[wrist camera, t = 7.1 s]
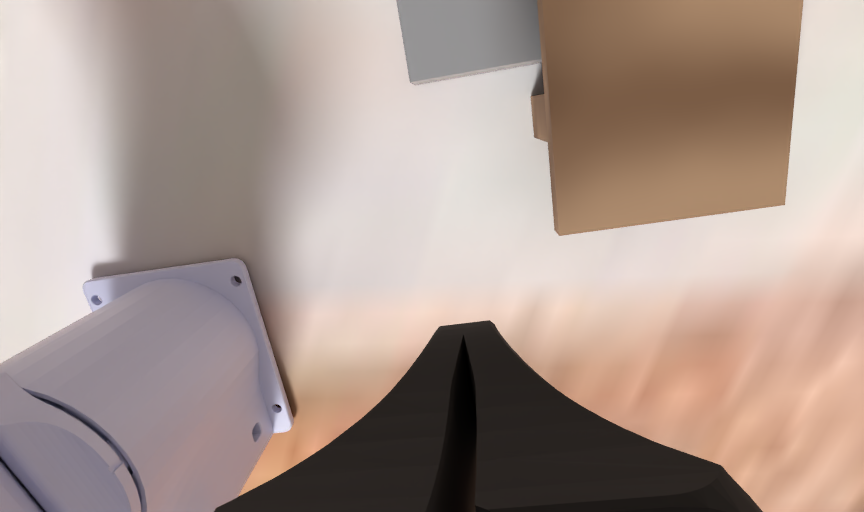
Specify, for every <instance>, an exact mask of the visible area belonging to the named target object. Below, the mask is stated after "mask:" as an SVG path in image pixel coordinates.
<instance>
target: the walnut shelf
mask: <svg viewBox="0 0 864 512" xmlns="http://www.w3.org/2000/svg"><path fill="white" fill-rule="evenodd" d="M537 6H538V19H539V32H540V45H541V58H542V71H543V85H544V94H542V95H536V96H531V105H532V116H533V128H534V137H535V138H537V139H540V140H543V141H546V142H548V150H549V163H550V176H551V189H552V202H553V216H554V229H555V231H556V232H557V233H558V235H559V236H562V235H569V234H576V233H583V232H591V231H598V230H605V229H613V228H620V227H627V226H635V225H642V224H649V223H656V222H664V221H671V220H678V219H686V218H693V217H700V216H707V215H715V214H722V213H729V212H737V211H744V210H751V209H759V208H766V207H773V206H780V205H785V197H786V186H787V175H788V164H789V153H790V141H791V130H792V119H793V108H794V97H795V86H796V75H797V64H798V53H799V41H800V30H801V19H802V8H803V0H537Z"/></svg>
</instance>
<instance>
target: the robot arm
mask: <svg viewBox="0 0 864 512" xmlns="http://www.w3.org/2000/svg"><path fill="white" fill-rule="evenodd" d="M234 276H238V277H239V278H240V279H241V283H238V282H236V281H235V279H234ZM83 292H84V294H85V296H86V298H87V301H88V303H89V305H90V308H91V310H92V313H90V314H88V315H86V316H85V317H83V318H81V319H79V320H78V321H76V322H74V323H72V324H70V325H69V326H67V327H65V328H63V329H61V330H60V331H58V332H56V333H54V334H53V335H51V336H49V337H47V338H45V339H44V340H42V341H40V342H38V343H36V344H35V345H33V346H31V347H29V348H27V349H26V350H24V351H22V352H20V353H19V354H17V355H15V356H13V357H11V358H10V359H8V360H6V361H4V362H2V363H1V364H0V512H763V511H762V510H761V509H760V508H759V507H758V506H757V504H756V503H755V502H754V501H753V500H752V499H751V497H750V496H749V495H748V494H747V493H746V492H745V491H744V490H743V489H742V488H741V487H740V486H739V485H738V484H737V483H736V482H735V481H734V480H733V479H732V477H731V476H730V475H729V474H728V473H727V472H726V471H725V469H724V468H723V467H722V466H721V465H718V464H716V463H713V462H710V461H707V460H704V459H701V458H698V457H696V456H693V455H690V454H687V453H684V452H681V451H678V450H676V449H673V448H670V447H667V446H664V445H661V444H659V443H656V442H654V441H651V440H649V439H647V438H644V437H642V436H640V435H638V434H635V433H633V432H631V431H628V430H626V429H624V428H622V427H620V426H618V425H616V424H614V423H612V422H610V421H608V420H606V419H604V418H602V417H600V416H598V415H597V414H595V413H593V412H591V411H589V410H588V409H586V408H584V407H582V406H581V405H579V404H577V403H576V402H574V401H573V400H571V399H569V398H568V397H566V396H565V395H564V394H562V393H561V392H559V391H558V390H557V389H555V388H554V387H553V386H551V385H550V384H549V383H548V382H546V381H545V380H544V379H543V378H542V377H541V376H539V375H538V374H537V373H536V372H535V371H534V370H533V369H532V368H531V367H529V366H528V365H527V364H526V363H525V362H524V361H523V360H522V359H521V357H520V356H519V355H518V354H517V353H516V352H515V351H514V350H513V349H512V348H511V347H510V346H509V344H508V343H507V342H506V341H505V339H504V338H503V337H502V336H501V334H500V333H499V331H498V330H497V328H496V327H495V324H493V323H492V322H491V321H490V320H489V321H480V322H472V323H464V324H455V325H447V326H440V327H439V328H438V329H437V330H436V332H435V333H434V335H433V336H432V338H431V339H430V341H429V342H428V344H427V345H426V347H425V348H424V350H423V351H422V353H421V354H420V355H419V357H418V358H417V359H416V361H415V362H414V363H413V365H412V366H411V367H410V369H409V370H408V371H407V373H406V374H405V375H404V376H403V377H402V379H401V380H400V381H399V382H398V383H397V384H396V386H395V387H394V388H393V389H392V390H391V391H390V392H389V393H388V394H387V395H386V396H385V397H384V398H383V399H382V400H381V401H380V402H379V403H378V404H377V405H376V406H375V407H374V408H373V409H372V410H371V411H370V412H368V413H367V414H366V415H365V416H364V417H363V418H362V419H360V420H359V421H358V422H357V423H355V424H354V425H353V426H351V427H350V428H349V429H348V430H346V431H345V432H344V433H342V434H341V435H340V436H338V437H337V438H336V439H335V440H333V441H332V442H331V443H329V444H328V445H326V446H325V447H324V448H322V449H321V450H319V451H318V452H316V453H315V454H313V455H312V456H310V457H309V458H307V459H305V460H304V461H302V462H300V463H299V464H297V465H296V466H294V467H292V468H291V469H289V470H287V471H286V472H284V473H282V474H280V475H279V476H277V477H275V478H274V479H272V480H270V481H268V482H266V483H264V484H262V485H260V486H258V487H256V488H254V489H252V490H251V491H249V492H247V493H245V494H243V495H241V496H239V497H238V495H239V494H240V492H241V490H242V488H243V486H244V485H245V483H246V481H247V479H248V478H249V476H250V474H251V472H252V470H253V469H254V467H255V465H256V463H257V462H258V460H259V458H260V456H261V454H262V453H263V451H264V449H265V447H266V446H267V444H268V442H269V440H270V438H271V437H272V435H273V433H280V432H287V431H289V430H290V429H291V427H292V425H293V423H294V419H293V416H292V413H291V409H290V406H289V403H288V400H287V396H286V393H285V390H284V387H283V384H282V380H281V377H280V374H279V371H278V367H277V364H276V361H275V358H274V354H273V351H272V348H271V345H270V342H269V338H268V335H267V332H266V329H265V325H264V322H263V319H262V316H261V312H260V309H259V306H258V303H257V300H256V296H255V293H254V290H253V287H252V283H251V280H250V277H249V274H248V270H247V267H246V265H245V263H244V262H243V261H241V260H239V259H237V258H232V259H225V260H218V261H211V262H204V263H197V264H189V265H182V266H175V267H168V268H161V269H154V270H147V271H140V272H133V273H126V274H119V275H112V276H105V277H98V278H93V279H90V280H88V281H86V282H85V283H84V284H83ZM98 296H99V297H100V298H101V299H102V301H100V300H99V299H98ZM275 404H278V405H280V406H281V408H278V407H277V406H276V405H275Z"/></svg>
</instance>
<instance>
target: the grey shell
mask: <svg viewBox="0 0 864 512" xmlns="http://www.w3.org/2000/svg"><path fill="white" fill-rule="evenodd" d="M397 6H398V13H399V19H400V25H401V31H402V37H403V43H404V49H405V55H406V61H407V67H408V73H409V79H410V83H412V84H414V85H419V84H424V83H430V82H436V81H441V80H447V79H452V78H458V77H464V76H469V75H475V74H481V73H486V72H492V71H497V70H503V69H509V68H514V67H520V66H525V65H531V64H537V63H542V58H541V45H540V32H539V19H538V6H537V0H397Z"/></svg>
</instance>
